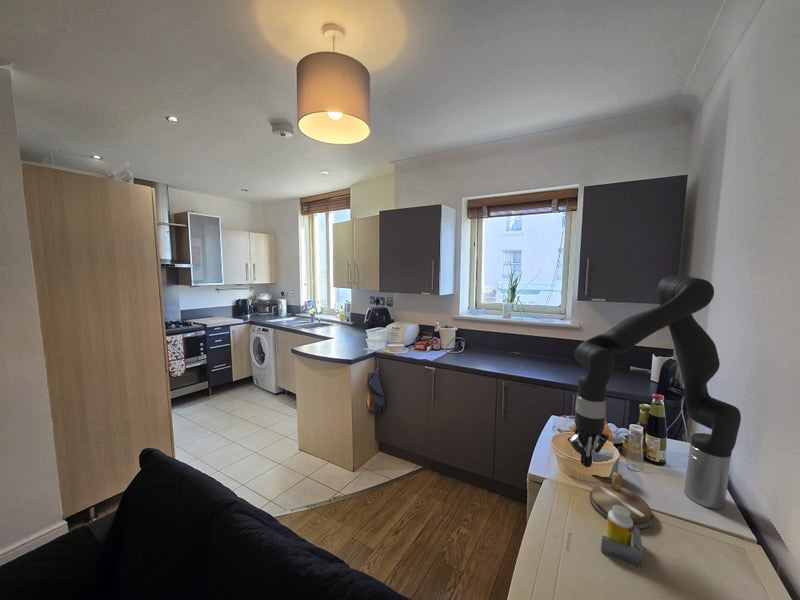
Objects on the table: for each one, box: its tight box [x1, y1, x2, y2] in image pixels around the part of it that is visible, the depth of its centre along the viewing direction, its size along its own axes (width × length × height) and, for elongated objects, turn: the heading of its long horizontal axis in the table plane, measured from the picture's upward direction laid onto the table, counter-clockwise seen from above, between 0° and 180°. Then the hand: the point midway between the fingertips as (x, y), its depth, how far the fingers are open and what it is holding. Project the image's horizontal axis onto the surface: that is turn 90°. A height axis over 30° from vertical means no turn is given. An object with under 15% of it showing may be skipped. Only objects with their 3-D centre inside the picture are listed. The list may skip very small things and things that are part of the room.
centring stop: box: [600, 528, 644, 568], centre depth 82 cm, size 12×6×4 cm, turn 104°
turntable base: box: [589, 490, 654, 531], centre depth 98 cm, size 16×16×1 cm
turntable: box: [591, 472, 652, 525], centre depth 97 cm, size 15×15×6 cm
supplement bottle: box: [605, 505, 633, 546], centre depth 85 cm, size 6×6×10 cm
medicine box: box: [592, 448, 620, 480], centre depth 112 cm, size 8×4×9 cm, turn 71°
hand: (586, 465), depth 95 cm, fingers closed
